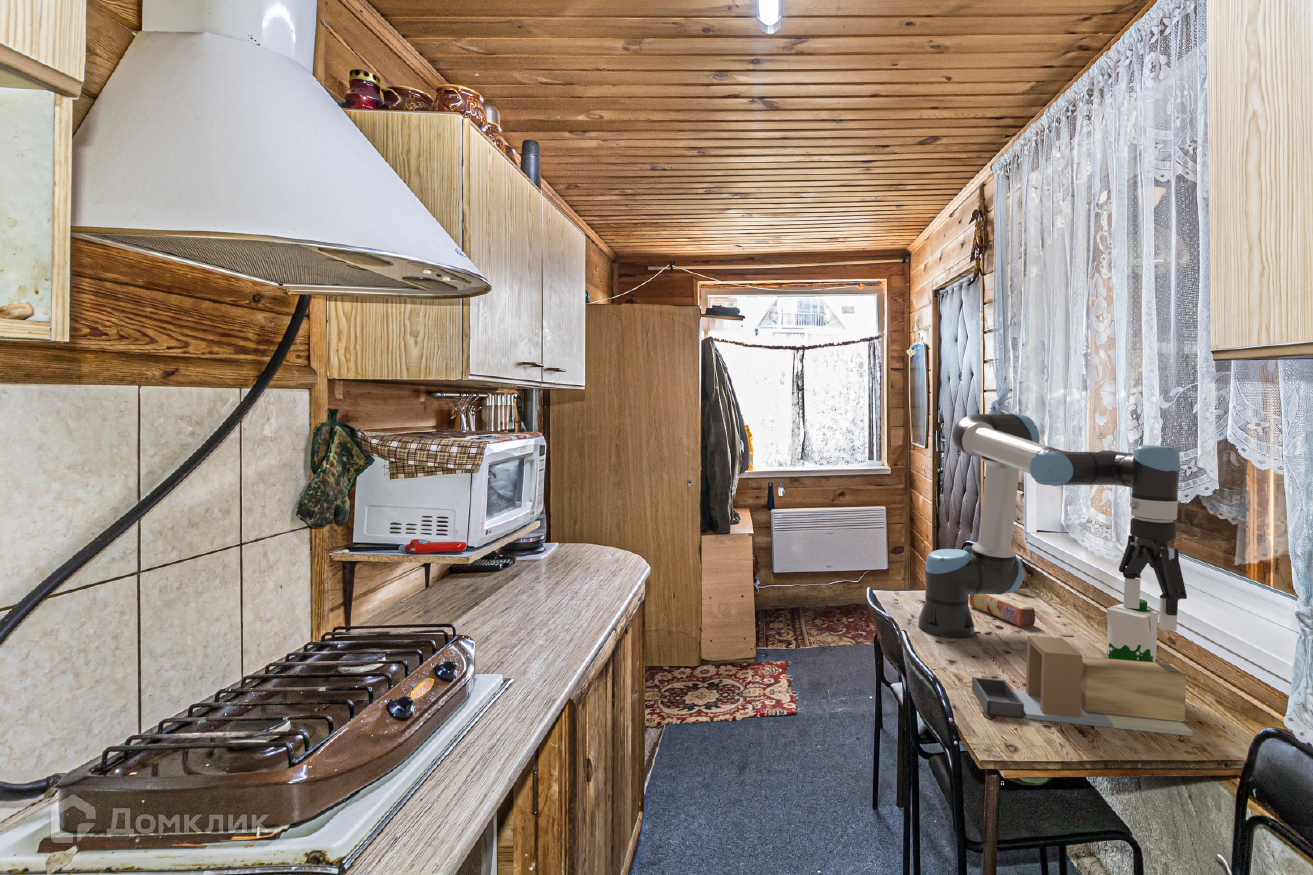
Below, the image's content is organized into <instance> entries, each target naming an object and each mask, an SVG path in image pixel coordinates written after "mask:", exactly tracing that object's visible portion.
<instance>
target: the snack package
mask: <svg viewBox="0 0 1313 875" xmlns="http://www.w3.org/2000/svg"><path fill="white" fill-rule="evenodd" d="M968 604H969V605H970V606H971V607H972V608H974V609H977V610H979V611H982V612H984V613H987V614H989V615H992V616H994V617H997V618H999V619H1001V620H1003V621H1005V622H1008V623H1011V624H1013V625H1015V626H1017V627H1020V628H1030V626H1031V627H1033V626H1034V624H1036V612H1035V609H1034V608H1035V607H1033V606H1030V605H1027V604H1025V603H1022V602H1019V601H1017V600H1014V599H1012V598H1010V597H1007V596H1005V595H1002V594H1001V595H997V594H970V595H969V597H968Z"/></svg>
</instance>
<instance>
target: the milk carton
mask: <svg viewBox="0 0 1313 875" xmlns="http://www.w3.org/2000/svg"><path fill="white" fill-rule="evenodd" d="M1123 606H1124V603H1119V604H1116V605H1112V606H1110V607H1108V608H1106V617H1107V637H1106V638H1107V639H1106V640H1107V642H1106V643H1107V644H1106V658H1107V659H1119V660H1131V661H1143V662H1155V663H1156V662H1157V649H1158V648H1157V644H1158V627H1159V612H1160V611H1155V610H1153V609H1148V601H1147V600H1145V599H1141V598H1140V602H1139V609H1134V608H1125V607H1123Z"/></svg>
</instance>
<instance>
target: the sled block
mask: <svg viewBox="0 0 1313 875" xmlns="http://www.w3.org/2000/svg"><path fill="white" fill-rule="evenodd" d="M1186 691H1187V673H1186V672H1185V671H1184V670H1182V669H1180V668H1178V666H1176V665H1174V664H1173V663H1168V662H1163V661H1161V662H1160V661H1156V663H1155V662H1143V661H1131V660H1119V659H1107V657H1106V658H1105V657H1094V656H1083V655H1082V684H1081V707H1082V708H1083V709H1084V710H1085V711H1086V712H1096V713H1106V714H1116V715H1126V716H1136V717H1145V718H1155V719H1165V720H1175V721H1181V722H1185V721H1186V720H1185V719H1186V698H1187V697H1186V694H1187V692H1186Z"/></svg>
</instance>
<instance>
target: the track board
mask: <svg viewBox="0 0 1313 875" xmlns="http://www.w3.org/2000/svg"><path fill="white" fill-rule="evenodd" d="M1026 640H1027V643H1026V644H1027V645H1026V647H1027V648H1026V677H1025V690H1021V689H1013V688H1012V690H1013V691H1014V692H1015V693H1016V695H1017V696H1018V697H1019V699H1020V700H1021V701H1022V702H1023V704H1024V718H1025V719H1028V720H1034V721H1036V720H1038V721H1046V722H1056V723H1065V724H1073V725H1074V724H1075V725H1081V726H1082V725H1083V726H1094V727H1102V728H1112V729H1122V730H1123V729H1124V730H1131V731H1138V732H1139V731H1141V732H1148V733H1158V734H1161V733H1162V734H1170V735H1178V736H1179V735H1180V736H1188V737H1193V732H1194V730H1192V729H1191V728H1189V727H1188V726H1187V725H1186V724H1185V723H1183V721H1175V720H1165V719H1155V718H1145V717H1136V716H1126V715H1116V714H1106V713H1096V712H1086V711H1085V710H1084V709H1083V708H1082V707H1081V684H1082V656H1083V654H1082V653H1080V652H1079V651H1078V650H1077V649H1076V648H1075V647H1073V646H1072V645H1071V644H1070V643H1068V642H1067V641H1066V640H1065V639H1064V638H1063V637H1053V636H1040V635H1039V636H1038V635H1028V634H1027V639H1026Z"/></svg>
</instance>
